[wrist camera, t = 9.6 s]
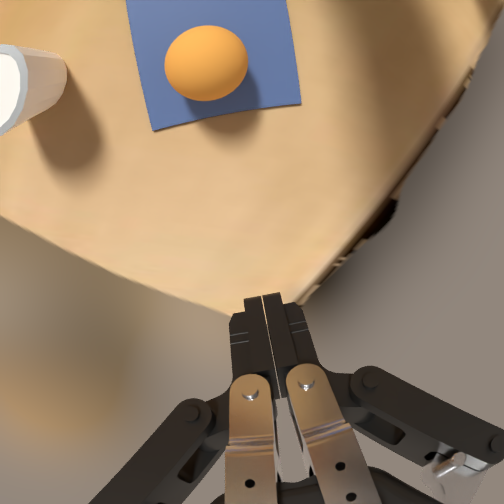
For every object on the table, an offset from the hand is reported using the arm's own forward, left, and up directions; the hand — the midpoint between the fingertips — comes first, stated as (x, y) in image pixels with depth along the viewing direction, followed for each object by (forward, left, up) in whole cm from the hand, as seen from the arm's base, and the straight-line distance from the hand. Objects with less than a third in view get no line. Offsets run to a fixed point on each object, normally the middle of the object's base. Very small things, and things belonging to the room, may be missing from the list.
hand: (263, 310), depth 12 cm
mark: (-12, 0, -15) cm, 19 cm away
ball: (-10, -1, -12) cm, 16 cm away
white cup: (-14, -15, -15) cm, 26 cm away
